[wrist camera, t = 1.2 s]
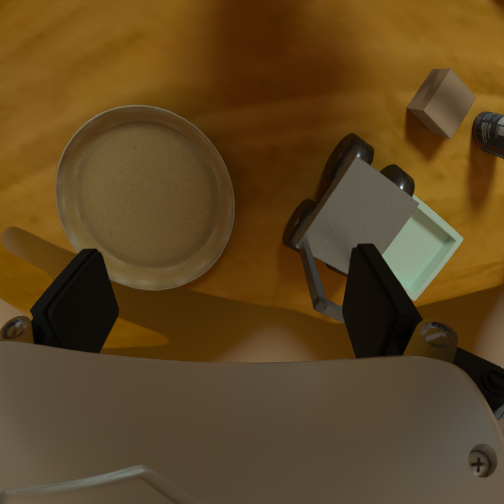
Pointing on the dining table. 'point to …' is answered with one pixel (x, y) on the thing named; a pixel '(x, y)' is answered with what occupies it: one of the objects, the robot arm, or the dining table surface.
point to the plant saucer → (145, 196)
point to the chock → (442, 102)
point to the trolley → (349, 215)
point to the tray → (421, 249)
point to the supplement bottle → (490, 133)
